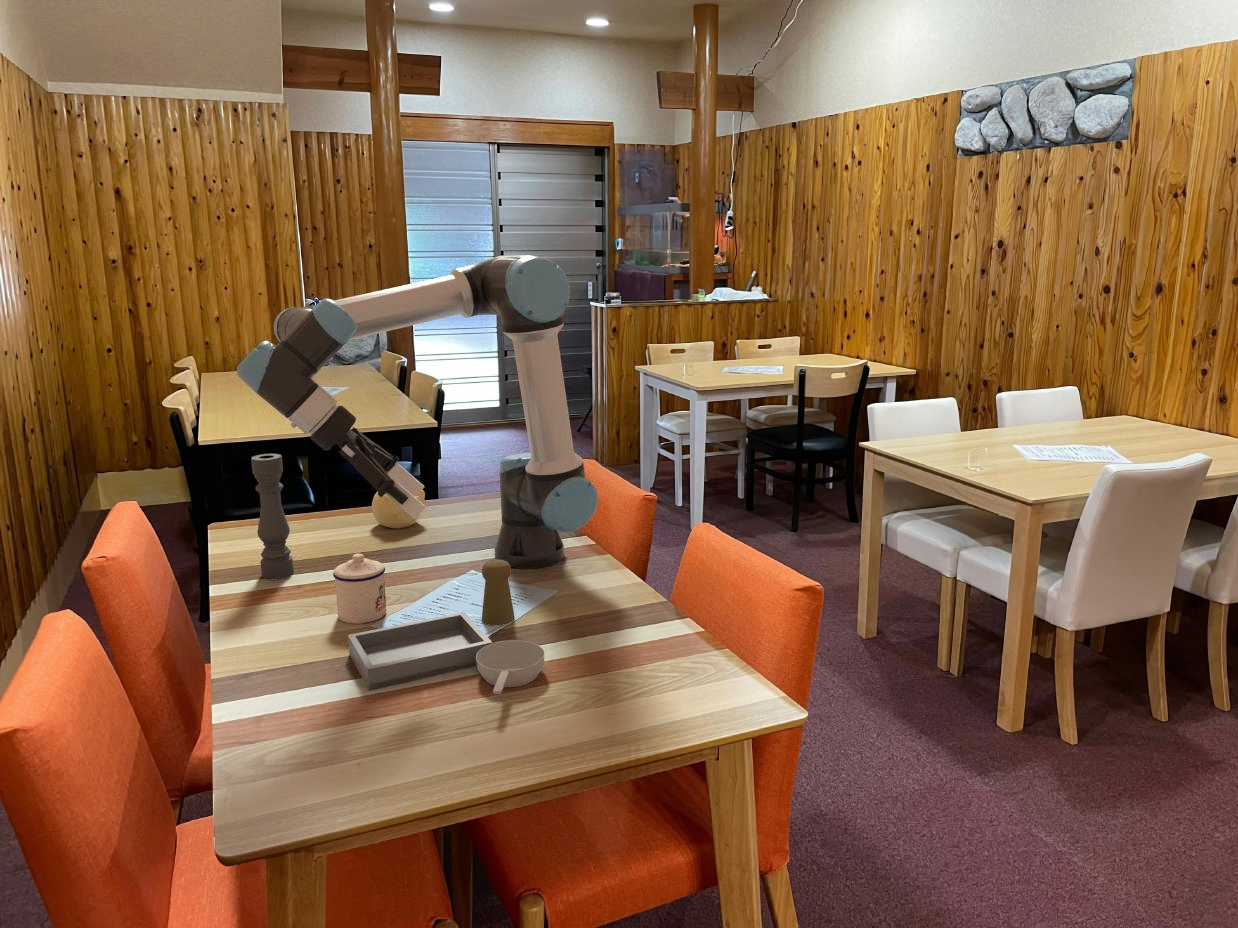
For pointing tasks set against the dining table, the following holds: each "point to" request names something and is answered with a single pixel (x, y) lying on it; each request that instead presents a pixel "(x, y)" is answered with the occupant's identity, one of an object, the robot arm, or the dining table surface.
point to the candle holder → (272, 517)
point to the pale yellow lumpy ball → (393, 511)
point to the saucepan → (510, 663)
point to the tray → (416, 649)
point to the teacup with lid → (360, 590)
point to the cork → (497, 593)
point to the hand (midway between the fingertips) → (419, 502)
